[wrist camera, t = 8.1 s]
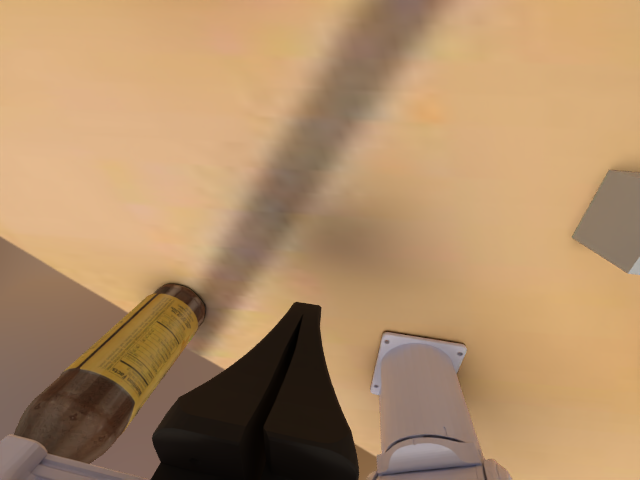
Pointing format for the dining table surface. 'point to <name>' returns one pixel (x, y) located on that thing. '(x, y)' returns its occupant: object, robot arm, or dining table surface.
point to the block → (614, 221)
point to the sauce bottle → (113, 377)
